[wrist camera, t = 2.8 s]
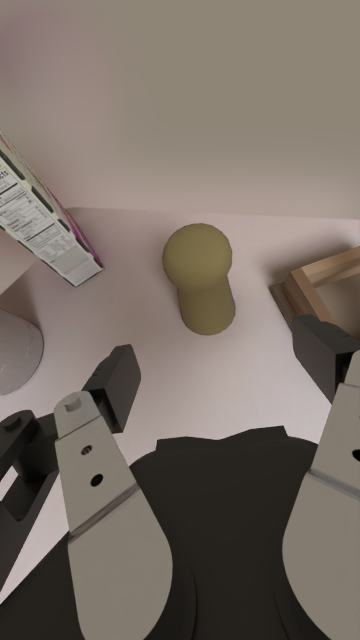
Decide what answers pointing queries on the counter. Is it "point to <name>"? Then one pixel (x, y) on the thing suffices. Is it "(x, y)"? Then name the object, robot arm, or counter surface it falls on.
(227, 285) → the olive knobbed peg
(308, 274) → the walnut socket
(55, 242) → the candy bar box
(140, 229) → the counter surface
